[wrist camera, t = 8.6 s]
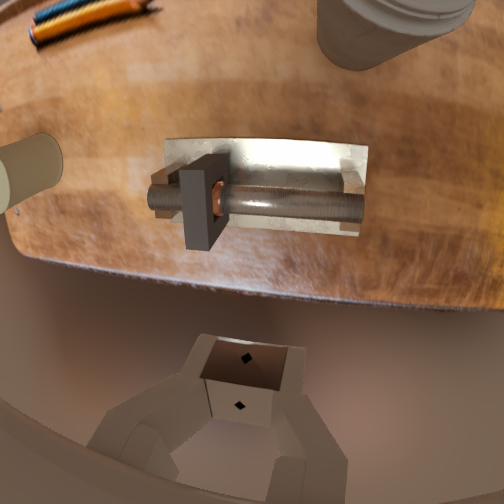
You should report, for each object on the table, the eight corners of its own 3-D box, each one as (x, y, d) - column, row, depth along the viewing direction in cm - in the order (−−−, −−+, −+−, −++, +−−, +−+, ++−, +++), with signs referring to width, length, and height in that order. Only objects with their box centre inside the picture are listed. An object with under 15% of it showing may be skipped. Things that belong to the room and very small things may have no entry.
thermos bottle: (375, 3, 25) (475, -138, 1) (395, 66, 28) (565, 25, 4) (307, 13, 28) (278, -152, 3) (328, 76, 31) (368, 14, 6)
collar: (227, 153, 35) (204, 170, 28) (229, 220, 38) (209, 251, 31) (206, 153, 35) (179, 169, 28) (210, 219, 39) (186, 249, 32)
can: (30, 186, 45) (-20, 213, 34) (25, 135, 40) (-30, 153, 30) (66, 188, 44) (12, 218, 33) (61, 131, 39) (1, 150, 29)
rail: (367, 145, 33) (380, 159, 26) (357, 233, 39) (365, 266, 31) (166, 139, 37) (132, 151, 30) (173, 220, 43) (145, 247, 35)
